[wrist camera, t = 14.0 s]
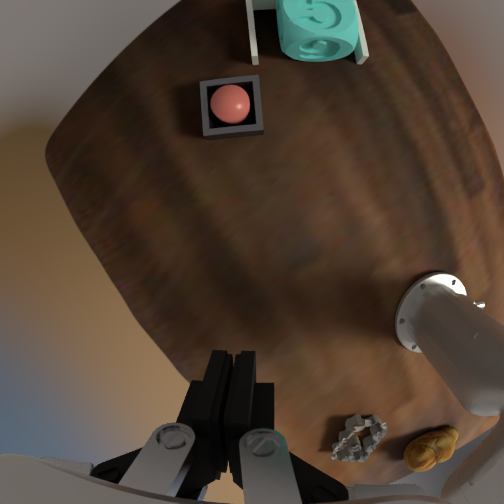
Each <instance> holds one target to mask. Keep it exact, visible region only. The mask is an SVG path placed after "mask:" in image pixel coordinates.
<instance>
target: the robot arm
mask: <svg viewBox="0 0 504 504" xmlns="http://www.w3.org/2000/svg"><path fill="white" fill-rule="evenodd" d="M483 308H484V301H483V300H478V301H475V302H474V301H473V300H471V299H470V298H468V297H467V294H466V291H465V288H464V286H463V284H462V282H461V281H460V280H459V279H458V278H456V277H455V276H453V275H451V274H449V273H446V272H434V273H431V274H428V275H426V276H424V277H422V278H420V279H419V280H418V281H416V282H415V283H414V284H413V285H412V286H411V287H410V288H409V289H408V290H407V291H406V293H405V294H404V296H403V297H402V299H401V301H400V303H399V305H398V308H397V311H396V315H395V331H396V335H397V337H398V339H399V341H400V342H401V343H402V345H403V346H404V347H406V348H407V349H408V350H410V351H413V352H417V353H423V354H424V355H425V357H426V358H427V359H428V360H429V362H430V363H431V364H432V366H433V367H434V368H435V370H436V371H437V372H438V374H439V375H440V376H441V377H442V379H443V380H444V381H445V383H446V384H447V386H448V387H449V388H450V390H451V391H452V392H453V394H454V395H455V396H456V398H457V399H458V400H459V402H460V403H461V405H462V406H463V407H464V408H465V409H466V410H467V411H469V412H470V413H472V414H475V415H479V416H495V415H500V418H499V421H498V422H497V424H496V425H495V427H494V428H493V429H492V430H491V432H490V433H489V435H488V436H487V437H486V438H485V439H484V440H483V441H482V443H481V444H480V445H479V446H478V447H477V448H476V449H475V450H474V452H473V453H471V454H470V456H469V457H468V458H467V459H466V460H465V461H464V462H463V463H462V464H461V465H460V466H459V467H458V468H457V469H456V470H455V471H454V472H453V473H452V474H451V475H450V476H449V478H448V479H447V480H446V482H445V484H444V485H443V487H442V490H441V494H440V498H438V497H433V496H427V495H426V492H425V490H424V489H423V488H422V487H421V486H418V485H416V484H383V485H368V484H355V487H348V486H344V485H343V484H342V483H340V482H339V481H337V480H335V479H334V478H332V477H330V476H328V475H327V474H325V473H323V472H321V471H320V470H318V469H316V468H315V467H313V466H311V465H310V464H308V463H306V462H305V461H303V460H302V459H300V458H299V457H297V456H295V455H294V454H292V453H291V452H289V451H288V447H287V443H286V440H285V438H284V436H283V435H282V434H281V433H279V432H277V431H275V430H274V383H256V353H255V351H241V354H236V357H235V362H234V367H233V357H232V354H228V353H227V351H223V350H213V351H212V354H211V357H210V360H209V363H208V366H207V369H206V372H205V376H204V379H203V381H197V380H193V381H191V383H190V387H189V389H188V391H187V394H186V397H185V400H184V402H183V405H182V407H181V410H180V413H179V416H178V418H177V421H176V423H167V424H164V425H161V426H160V427H158V428H157V429H156V430H155V431H154V432H153V433H152V435H151V436H150V438H149V439H148V441H147V442H146V444H145V445H144V447H142V448H140V449H137V450H135V451H132V452H129V453H127V454H125V455H122V456H119V457H116V458H114V459H111V460H108V461H105V462H103V463H100V464H98V465H97V466H93V464H92V463H87V462H79V461H71V460H65V459H59V458H53V457H43V458H36V457H31V456H27V455H20V454H1V455H0V504H227V503H215V502H206V501H203V499H204V496H205V494H206V491H207V487H208V486H207V484H209V483H211V482H213V481H215V479H217V480H220V476H221V472H224V473H226V471H227V466H228V461H229V468H230V473H232V475H233V482H234V483H236V484H237V485H238V486H239V487H240V488H241V489H243V490H244V501H245V504H504V325H503V324H501V323H500V322H499V321H497V320H496V319H495V318H493V317H492V316H491V315H489V314H488V313H487V312H485V311H484V310H483Z"/></svg>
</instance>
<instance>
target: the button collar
mask: <svg viewBox="0 0 504 504" xmlns="http://www.w3.org/2000/svg"><path fill="white" fill-rule="evenodd" d="M226 85H236V86H239V87H241V88H242V89H244V90H245V91H253V92H254V103H255V114H256V124H252V125H241V126H231V127H222V128H215V125H214V112H213V111H212V108H211V99H212V95H213V94H214V93H215V92H216V91H217V90H218V89H219V88H221V87H223V86H226ZM200 94H201V110H202V124H203V136H204V137H206V138H207V139H209V140H215V139H224V138H233V137H244V136H255V135H264V128H263V117H262V106H261V96H260V85H259V75H251V76H241V77H231V78H223V79H215V80H208V81H201V82H200Z"/></svg>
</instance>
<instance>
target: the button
mask: <svg viewBox="0 0 504 504" xmlns="http://www.w3.org/2000/svg"><path fill="white" fill-rule="evenodd" d="M211 108H212V111H213V112H214V114H215V115H216V116H217V117H218V119H219V120H220V121H221V122H222V123H224V124H226V125H230V126H236V125H240V124H242V123H244V122H245V121H246V120H247V119H248V117H249V115H250V113H251V105H250V101H249V97H248V95H247V93H246V91H245V90H244V89H242V88H241V87H239V86H236V85H226V86H223V87H221V88H219V89H218V90H217V91H216V92H215V93H214V94H213V96H212V99H211Z"/></svg>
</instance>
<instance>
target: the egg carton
mask: <svg viewBox="0 0 504 504" xmlns="http://www.w3.org/2000/svg"><path fill="white" fill-rule="evenodd" d="M345 426H346V430H344V431H340V432H339V442H337V443H333V445H332V448H333V454H331V455H332V460H335V459H339V460H340V461H344V460H345V461H351V462H355V461H358V462H363V463H365V462H366V460H367V458H368V456H369V454H370V453H371V452H372V450H373V449H375V448H376V446H377V444H378V443H379V442H380V440H381V439H382V437H383V436H384V435H386V433H387V424H386V423H383V424H382V422H381V419H379V418H378V415H375V414H373V415H372V416H371V417H369V418H367V419H362V418H361V415H360V414H355V415H354V416H353V417H351V418H348V419H347V420H346V421H345ZM365 426H366V427H368V426H371V427H370V432H371V435H370V436H367V437H365V438H364V439H363V445H364V446H363V447H361V445H360V441H359V438H358V436H355V435H354V436H352V435H353V434H354V433H355V432H359V431H362V430H363V429H364V428H365ZM346 442H347V447H344V444H343V443H346Z"/></svg>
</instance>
